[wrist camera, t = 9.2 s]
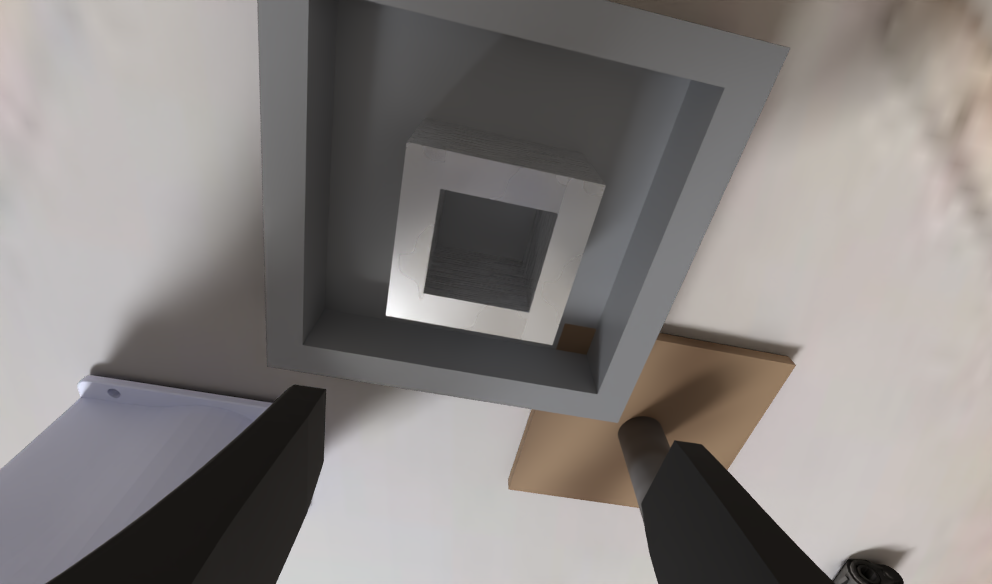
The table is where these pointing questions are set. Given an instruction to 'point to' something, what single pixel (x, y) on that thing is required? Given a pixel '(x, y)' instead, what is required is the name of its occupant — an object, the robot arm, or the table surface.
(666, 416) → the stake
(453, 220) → the tray
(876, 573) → the handgun
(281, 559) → the robot arm
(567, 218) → the collar
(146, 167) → the table surface
